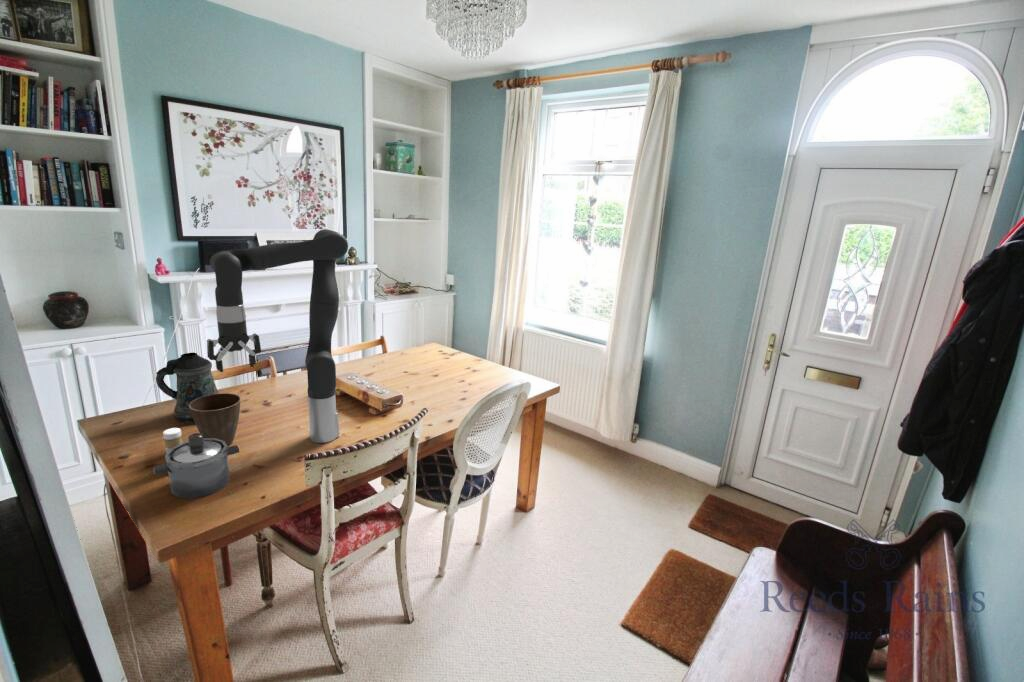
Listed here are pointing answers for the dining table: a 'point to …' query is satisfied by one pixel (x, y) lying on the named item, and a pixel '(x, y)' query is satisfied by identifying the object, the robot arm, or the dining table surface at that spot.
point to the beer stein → (187, 383)
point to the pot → (198, 472)
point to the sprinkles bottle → (172, 438)
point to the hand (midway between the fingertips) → (236, 368)
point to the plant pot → (217, 415)
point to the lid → (196, 450)
